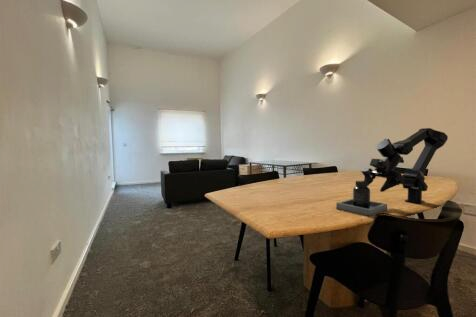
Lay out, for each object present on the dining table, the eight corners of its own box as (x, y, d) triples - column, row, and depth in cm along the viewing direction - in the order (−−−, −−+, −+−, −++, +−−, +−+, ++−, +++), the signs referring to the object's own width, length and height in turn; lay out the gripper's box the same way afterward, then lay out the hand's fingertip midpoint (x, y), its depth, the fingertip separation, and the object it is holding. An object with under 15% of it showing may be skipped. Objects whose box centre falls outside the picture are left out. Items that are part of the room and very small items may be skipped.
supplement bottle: (373, 208, 108) (374, 181, 107) (361, 210, 106) (362, 183, 105) (361, 205, 114) (361, 179, 114) (349, 206, 112) (349, 180, 111)
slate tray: (354, 203, 120) (354, 198, 120) (387, 210, 108) (387, 204, 108) (336, 209, 112) (336, 202, 112) (369, 216, 99) (369, 210, 99)
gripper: (364, 151, 121) (346, 175, 118) (400, 153, 103) (381, 181, 100) (375, 166, 124) (359, 190, 121) (413, 170, 106) (394, 198, 103)
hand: (371, 189), depth 111 cm, fingers open, 9 cm apart
